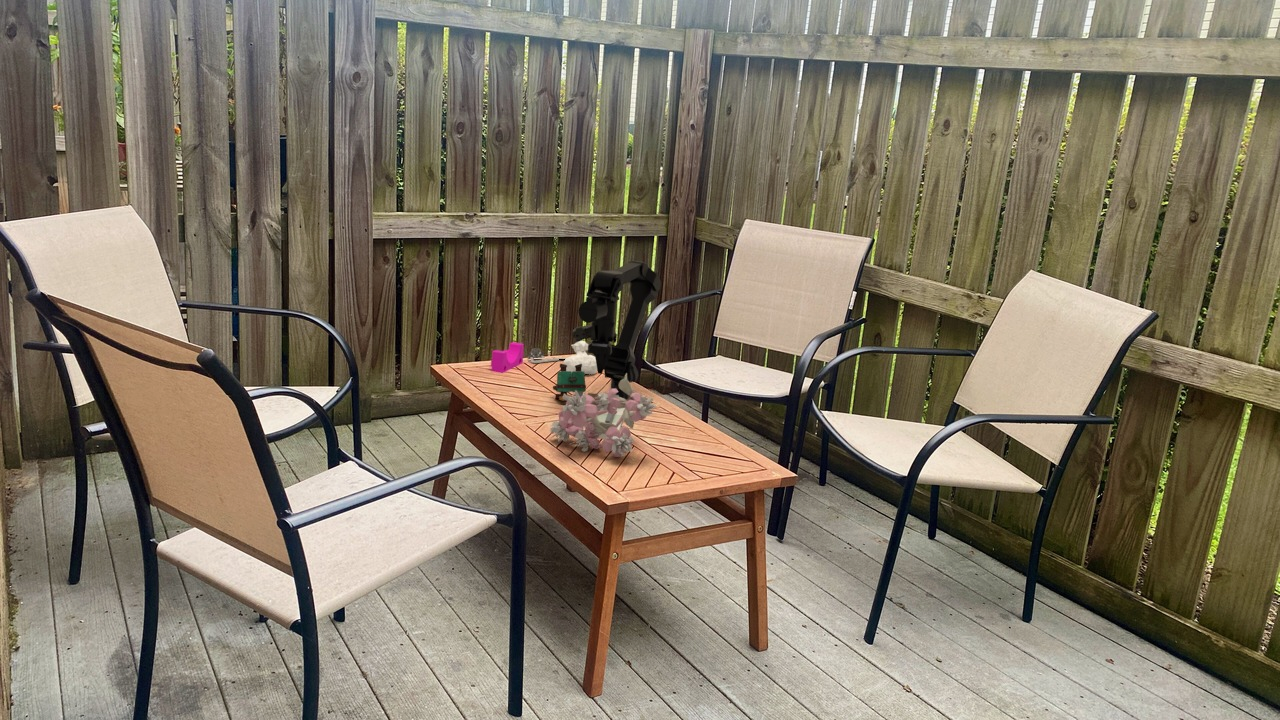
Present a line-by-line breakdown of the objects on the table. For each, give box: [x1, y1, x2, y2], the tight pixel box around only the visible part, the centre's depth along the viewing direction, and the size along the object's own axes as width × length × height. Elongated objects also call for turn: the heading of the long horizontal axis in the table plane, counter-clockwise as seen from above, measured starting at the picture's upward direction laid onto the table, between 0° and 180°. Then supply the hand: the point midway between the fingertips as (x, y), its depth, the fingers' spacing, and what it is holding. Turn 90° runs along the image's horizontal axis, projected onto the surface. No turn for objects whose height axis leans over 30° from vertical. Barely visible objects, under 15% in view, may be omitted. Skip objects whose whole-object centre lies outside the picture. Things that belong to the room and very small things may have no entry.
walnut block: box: [587, 392, 600, 411], centre depth 267 cm, size 5×5×4 cm
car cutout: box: [526, 347, 566, 364], centre depth 322 cm, size 15×7×4 cm, turn 133°
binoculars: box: [552, 363, 587, 402], centre depth 279 cm, size 9×11×10 cm
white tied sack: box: [562, 340, 598, 376], centre depth 308 cm, size 12×8×11 cm, turn 114°
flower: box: [549, 373, 657, 458], centre depth 240 cm, size 20×22×25 cm
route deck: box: [569, 391, 625, 440], centre depth 262 cm, size 25×16×5 cm, turn 176°
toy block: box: [490, 341, 525, 374], centre depth 308 cm, size 15×6×8 cm, turn 162°
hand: (600, 371), depth 273 cm, fingers open, 3 cm apart
